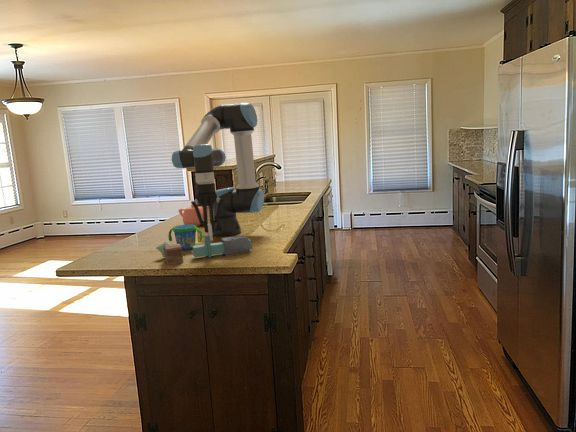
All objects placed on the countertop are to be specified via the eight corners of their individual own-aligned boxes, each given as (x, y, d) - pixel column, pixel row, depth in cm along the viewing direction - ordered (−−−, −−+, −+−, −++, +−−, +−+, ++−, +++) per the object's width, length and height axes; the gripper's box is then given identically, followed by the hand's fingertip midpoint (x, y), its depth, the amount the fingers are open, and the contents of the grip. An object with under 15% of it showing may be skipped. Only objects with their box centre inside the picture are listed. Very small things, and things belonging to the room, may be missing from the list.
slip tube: (193, 256, 192) (191, 236, 190) (248, 248, 200) (247, 229, 198) (195, 259, 186) (193, 238, 185) (252, 251, 194) (251, 231, 193)
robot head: (156, 259, 193) (154, 243, 191) (159, 256, 197) (158, 241, 195) (174, 258, 192) (172, 242, 190) (177, 256, 196) (176, 240, 194)
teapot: (208, 227, 261) (206, 205, 259) (175, 227, 265) (173, 207, 263) (216, 222, 274) (214, 202, 272) (184, 223, 277) (182, 203, 276)
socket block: (166, 260, 189) (164, 245, 188) (180, 258, 191) (179, 243, 190) (167, 264, 182) (166, 248, 181) (183, 262, 184) (181, 246, 183)
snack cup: (207, 245, 212) (205, 224, 210) (196, 251, 202) (194, 228, 200) (177, 245, 217) (175, 224, 215) (165, 250, 207) (162, 228, 205)
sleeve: (222, 252, 196) (221, 238, 195) (245, 249, 200) (244, 235, 199) (226, 256, 190) (224, 241, 189) (249, 252, 194) (248, 237, 192)
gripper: (190, 185, 181) (196, 243, 185) (223, 182, 185) (228, 239, 189) (187, 183, 188) (193, 240, 192) (219, 181, 192) (223, 236, 196)
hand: (210, 239), depth 190 cm, fingers closed
